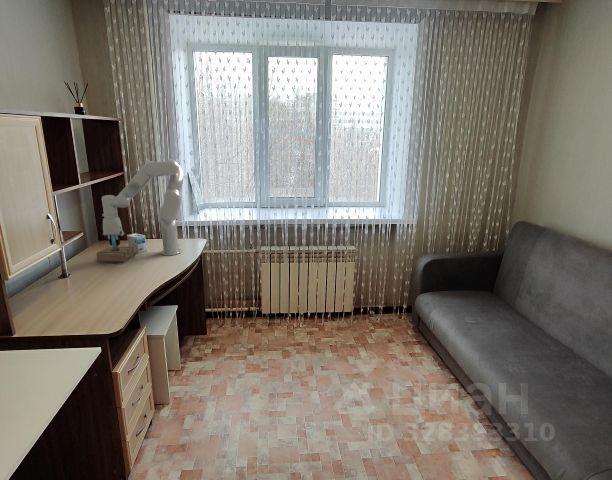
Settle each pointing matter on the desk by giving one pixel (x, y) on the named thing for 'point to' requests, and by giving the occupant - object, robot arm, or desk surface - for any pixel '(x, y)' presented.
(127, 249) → the walnut socket block
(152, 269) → the desk surface
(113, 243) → the teal peg
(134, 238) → the light bulb box
